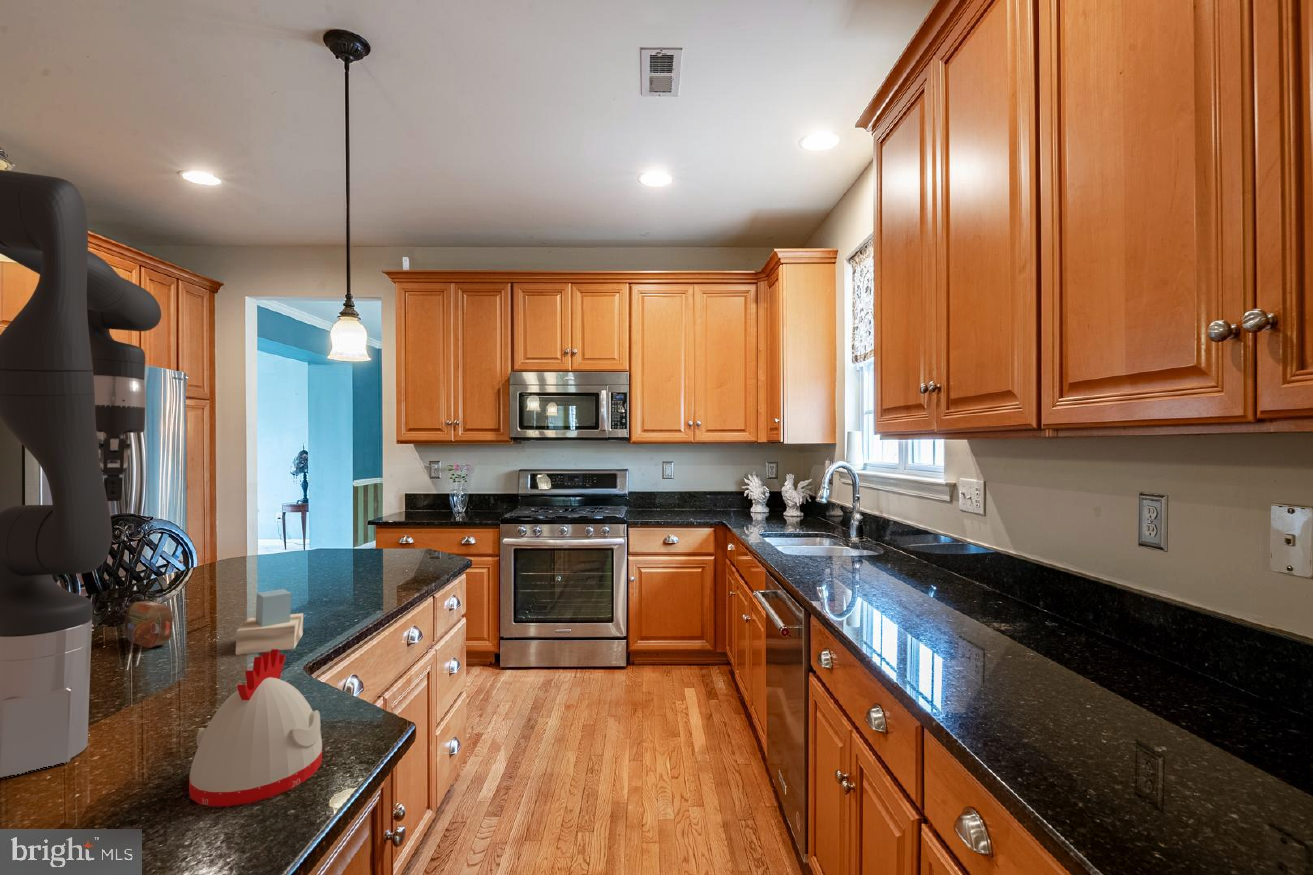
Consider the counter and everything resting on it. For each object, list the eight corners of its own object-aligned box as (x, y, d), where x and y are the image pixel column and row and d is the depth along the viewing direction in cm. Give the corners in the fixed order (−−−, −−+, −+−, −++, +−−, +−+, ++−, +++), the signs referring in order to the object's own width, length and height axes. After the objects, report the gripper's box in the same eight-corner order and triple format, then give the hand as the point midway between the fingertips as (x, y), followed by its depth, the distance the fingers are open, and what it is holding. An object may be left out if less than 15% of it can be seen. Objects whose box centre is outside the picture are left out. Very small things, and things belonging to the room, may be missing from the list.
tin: (122, 639, 124) (124, 599, 124) (141, 635, 127) (142, 596, 127) (156, 651, 117) (158, 609, 117) (175, 647, 120) (176, 605, 120)
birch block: (294, 650, 119) (294, 625, 120) (235, 656, 116) (236, 630, 116) (302, 635, 129) (303, 613, 129) (248, 641, 125) (249, 617, 125)
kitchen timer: (342, 745, 81) (344, 637, 81) (281, 806, 67) (285, 675, 68) (239, 746, 80) (243, 637, 81) (158, 807, 67) (162, 675, 67)
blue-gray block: (290, 621, 122) (291, 593, 122) (262, 626, 119) (263, 597, 119) (283, 616, 126) (284, 588, 126) (255, 621, 122) (256, 592, 122)
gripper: (146, 403, 97) (143, 501, 96) (144, 407, 107) (141, 495, 107) (83, 400, 92) (79, 503, 91) (87, 405, 102) (84, 497, 102)
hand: (112, 499), depth 99 cm, fingers open, 8 cm apart
